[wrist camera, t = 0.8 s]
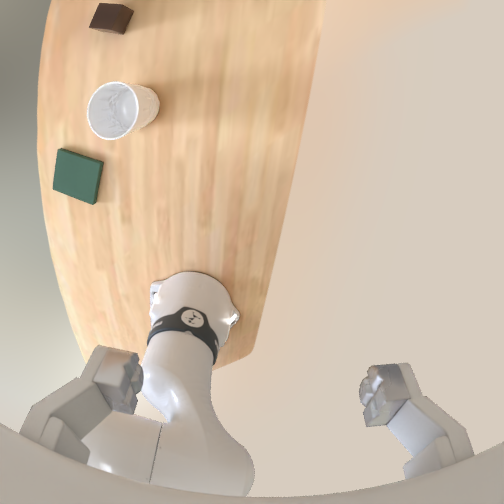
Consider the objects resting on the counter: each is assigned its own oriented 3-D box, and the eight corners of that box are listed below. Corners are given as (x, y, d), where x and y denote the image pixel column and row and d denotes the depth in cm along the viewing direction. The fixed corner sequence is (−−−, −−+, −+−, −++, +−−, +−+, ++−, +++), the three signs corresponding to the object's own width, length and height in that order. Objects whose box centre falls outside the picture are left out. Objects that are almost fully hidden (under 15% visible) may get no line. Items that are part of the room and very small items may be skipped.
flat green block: (96, 202, 48) (92, 205, 47) (56, 187, 46) (52, 189, 45) (103, 162, 44) (100, 163, 43) (61, 148, 42) (57, 149, 41)
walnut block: (123, 34, 33) (111, 30, 29) (102, 31, 32) (88, 27, 28) (134, 11, 31) (122, 4, 27) (112, 8, 30) (99, 3, 26)
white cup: (160, 78, 37) (135, 74, 29) (166, 125, 41) (142, 133, 32) (116, 89, 38) (83, 90, 29) (122, 134, 42) (91, 145, 33)
